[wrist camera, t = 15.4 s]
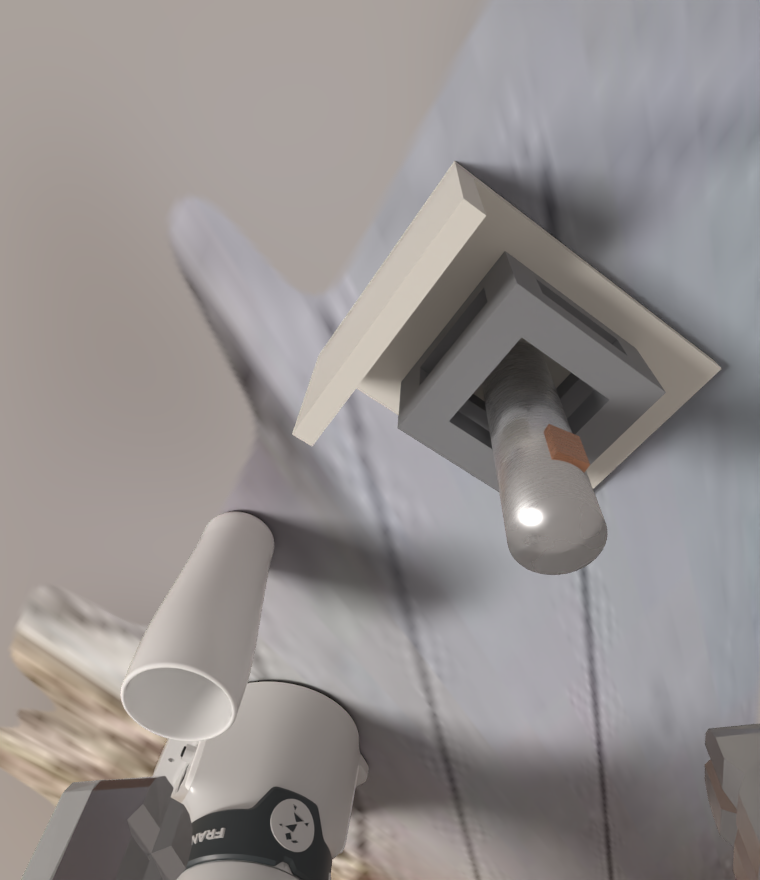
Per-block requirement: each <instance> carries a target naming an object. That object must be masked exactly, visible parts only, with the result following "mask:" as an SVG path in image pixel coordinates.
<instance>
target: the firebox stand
mask: <svg viewBox="0 0 760 880" xmlns="http://www.w3.org/2000/svg"><path fill="white" fill-rule="evenodd" d="M518 341H521V342H526V343H529V344H531V345H533V346H534V347H536V348H537V349H538V350H539V351H540V352H541V353H542V354H543V356H544V358H545V361H546V363H547V366H548V369H549V371H550V374H551V377H552V380H553V382H554V385H555V388H556V390H557V393H558V396H559V398H560V401H561V404H562V407H563V409H564V412H565V415H566V417H567V420H568V423H569V426H570V428H571V431H572V433H573V434H575V435H577V436H579V437H580V439H581V442H582V444H583V447H584V450H585V452H586V455H587V457H588V460H589V463H590V466H589V467H588V468H587V470H586V471H587V474H588V477H589V480H590V482H591V485H592V488H593V489H594V488H595V487H596V486H597V485H598V484H599V483H600V482H601V481H602V480H603V479H604V478H606V477H607V476H608V475H609V474H610V473H611V472H612V471H613V470H614V469H615V468H616V467H617V466H618V465H619V464H620V463H622V462H623V461H624V460H625V459H626V458H627V457H628V456H629V455H630V454H631V453H632V452H633V451H634V450H635V449H637V448H638V447H639V446H640V445H641V444H642V443H643V442H644V441H645V440H646V439H647V438H648V437H649V436H650V435H651V434H653V433H654V432H655V431H656V430H657V429H658V428H659V427H660V426H661V425H662V424H663V423H664V422H665V421H666V420H668V419H669V418H670V417H671V416H672V415H673V414H674V413H675V412H676V411H677V410H678V409H679V408H680V407H681V406H682V405H684V404H685V403H686V402H687V401H688V400H689V399H690V398H691V397H692V396H693V395H694V394H695V393H696V392H697V391H699V390H700V389H701V388H702V387H703V386H704V385H705V384H706V383H707V382H708V381H709V380H710V379H711V378H712V377H713V376H715V375H716V374H717V373H718V372H719V371H720V370H721V367H720V366H719V365H718V364H717V363H716V362H715V361H714V360H713V359H712V358H710V357H709V356H708V355H706V354H705V353H704V352H703V351H701V350H700V349H699V348H697V347H696V346H695V345H693V344H692V343H691V342H690V341H688V340H687V339H686V338H684V337H683V336H682V335H680V334H679V333H678V332H677V331H675V330H674V329H673V328H671V327H670V326H669V325H667V324H666V323H665V322H664V321H662V320H661V319H660V318H658V317H657V316H656V315H654V314H653V313H652V312H651V311H649V310H648V309H647V308H645V307H644V306H643V305H641V304H640V303H639V302H638V301H636V300H635V299H634V298H632V297H631V296H630V295H628V294H627V293H626V292H625V291H623V290H622V289H621V288H619V287H618V286H617V285H615V284H614V283H613V282H612V281H610V280H609V279H608V278H606V277H605V276H604V275H602V274H601V273H600V272H599V271H597V270H596V269H595V268H593V267H592V266H591V265H589V264H588V263H587V262H586V261H584V260H583V259H582V258H580V257H579V256H578V255H576V254H575V253H574V252H573V251H571V250H570V249H569V248H567V247H566V246H565V245H563V244H562V243H561V242H560V241H558V240H557V239H556V238H554V237H553V236H552V235H550V234H549V233H548V232H547V231H545V230H544V229H543V228H541V227H540V226H539V225H537V224H536V223H535V222H534V221H532V220H531V219H530V218H528V217H527V216H526V215H524V214H523V213H522V212H521V211H519V210H518V209H517V208H515V207H514V206H513V205H511V204H510V203H509V202H508V201H506V200H505V199H504V198H502V197H501V196H500V195H498V194H497V193H496V192H495V191H493V190H492V189H491V188H489V187H488V186H487V185H485V184H484V183H483V182H482V181H480V180H479V179H478V178H476V177H475V176H474V175H472V174H471V173H470V172H469V171H467V170H466V169H465V168H463V167H462V166H461V165H459V164H458V163H457V162H456V161H454V162H453V164H452V165H451V167H450V168H449V169H448V171H447V172H446V174H445V175H444V177H443V178H442V179H441V181H440V182H439V184H438V185H437V187H436V188H435V189H434V191H433V192H432V194H431V195H430V197H429V198H428V200H427V201H426V202H425V204H424V205H423V207H422V208H421V210H420V211H419V212H418V214H417V215H416V217H415V218H414V220H413V221H412V222H411V224H410V225H409V227H408V228H407V230H406V231H405V232H404V234H403V235H402V237H401V238H400V240H399V241H398V242H397V244H396V245H395V247H394V248H393V250H392V251H391V252H390V254H389V255H388V257H387V258H386V260H385V261H384V262H383V264H382V265H381V267H380V268H379V270H378V271H377V272H376V274H375V275H374V277H373V278H372V280H371V281H370V282H369V284H368V285H367V287H366V288H365V290H364V291H363V292H362V294H361V295H360V297H359V298H358V300H357V301H356V302H355V304H354V305H353V307H352V308H351V310H350V311H349V312H348V314H347V315H346V317H345V318H344V320H343V321H342V322H341V324H340V325H339V327H338V328H337V330H336V331H335V332H334V334H333V335H332V337H331V338H330V340H329V341H328V342H327V344H326V345H325V347H324V348H323V350H322V351H321V352H320V354H319V356H318V359H317V362H316V365H315V368H314V371H313V374H312V377H311V380H310V383H309V385H308V388H307V391H306V394H305V397H304V400H303V403H302V406H301V409H300V412H299V415H298V418H297V421H296V424H295V427H294V430H293V433H292V435H294V436H296V437H297V438H299V439H301V440H302V441H304V442H306V443H307V444H309V445H311V446H313V445H314V443H315V442H316V441H317V439H318V438H319V437H320V435H321V434H322V433H323V431H324V430H325V429H326V427H327V426H328V425H329V423H330V422H331V421H332V419H333V418H334V417H335V416H336V414H337V413H338V412H339V410H340V409H341V408H342V406H343V405H344V404H345V402H346V401H347V400H348V398H349V397H350V396H351V394H352V393H353V392H354V390H355V389H356V388H357V389H358V390H360V391H361V392H363V393H364V394H366V395H368V396H369V397H371V398H372V399H374V400H375V401H377V402H379V403H380V404H382V405H383V406H385V407H386V408H388V409H390V410H391V411H393V412H394V413H396V414H397V415H399V416H398V429H400V430H401V431H403V432H404V433H406V434H408V435H409V436H411V437H412V438H414V439H416V440H417V441H419V442H420V443H422V444H423V445H425V446H427V447H428V448H430V449H431V450H433V451H435V452H436V453H438V454H439V455H441V456H443V457H444V458H446V459H447V460H449V461H450V462H452V463H454V464H455V465H457V466H458V467H460V468H462V469H463V470H465V471H466V472H468V473H470V474H471V475H473V476H474V477H476V478H477V479H479V480H481V481H482V482H484V483H485V484H487V485H489V486H490V487H492V488H493V489H495V490H496V491H498V492H499V487H498V481H497V474H496V468H495V462H494V456H493V450H492V443H491V437H490V431H489V425H488V419H487V413H486V406H485V400H484V394H483V388H482V383H483V381H484V380H485V379H486V378H487V377H488V376H489V375H490V373H491V372H492V371H493V370H494V369H495V368H496V366H497V365H498V364H499V363H500V362H501V361H502V359H503V358H504V357H505V356H506V355H507V354H508V353H509V351H510V350H511V349H512V348H513V347H514V346H515V344H516V343H517V342H518Z"/></svg>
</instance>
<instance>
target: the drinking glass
mask: <svg viewBox="0 0 760 880" xmlns="http://www.w3.org/2000/svg"><path fill="white" fill-rule="evenodd" d="M273 552H274V538H273V535H272V533H271V531H270V529H269V528H268V526H267V525H266V524H265V523H264V522H263V521H261V520H260V519H259V518H257V517H255V516H253V515H251V514H248V513H244V512H226V513H223V514H220V515H218V516H216V517H214V518H213V519H212V520H211V521H210V522H209V523H208V524H207V526H206V527H205V529H204V531H203V533H202V536H201V538H200V540H199V542H198V544H197V546H196V547H195V549H194V551H193V552H192V554H191V556H190V557H189V559H188V561H187V562H186V564H185V566H184V568H183V569H182V571H181V572H180V574H179V576H178V578H177V579H176V581H175V582H174V584H173V586H172V587H171V589H170V591H169V592H168V594H167V596H166V597H165V599H164V600H163V602H162V604H161V605H160V607H159V609H158V610H157V612H156V614H155V616H154V617H153V619H152V621H151V622H150V624H149V626H148V628H147V629H146V631H145V633H144V635H143V637H142V639H141V641H140V643H139V645H138V648H137V650H136V652H135V654H134V657H133V659H132V661H131V664H130V666H129V668H128V671H127V673H126V676H125V679H124V681H123V683H122V686H121V692H120V694H121V701H122V704H123V706H124V708H125V710H126V712H127V713H128V714H129V716H130V717H131V718H132V719H133V720H134V721H135V722H136V723H138V724H139V725H140V726H142V727H143V728H145V729H146V730H148V731H150V732H152V733H154V734H156V735H159V736H162V737H165V738H168V739H173V740H178V741H190V742H193V741H203V740H208V739H212V738H215V737H217V736H219V735H221V734H223V733H224V732H226V731H227V730H228V729H229V728H230V727H231V726H232V725H233V723H234V721H235V719H236V717H237V713H238V710H239V708H240V705H241V702H242V699H243V696H244V693H245V689H246V686H247V683H248V679H249V675H250V671H251V667H252V663H253V659H254V654H255V648H256V643H257V637H258V631H259V625H260V619H261V612H262V607H263V601H264V595H265V589H266V583H267V578H268V572H269V567H270V563H271V559H272V556H273Z"/></svg>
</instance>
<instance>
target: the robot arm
mask: <svg viewBox="0 0 760 880" xmlns="http://www.w3.org/2000/svg"><path fill="white" fill-rule="evenodd" d="M705 746H706V748H707V751H708V754H709V756H710V760H709V761H708V762H707V763H706V764H705V784H706V790H707V795H708V801H709V804H710V807H711V811H712V814H713V817H714V820H715V823H716V826H717V829H718V831H719V834H720V836H721V837H722V838H723V839H724V840H725V841H726V842H728V843H729V844H730V845H731V846H732V847H733V848H734V858H733V872H734V875H735V878H736V880H760V724H751V725H741V726H731V727H721V728H711V729H708V730H707V732H706V736H705ZM368 772H369V767H368V765H367V763H366V761H365V759H364V758H363V756H362V755H361V754H360V751H359V734H358V730H357V727H356V725H355V723H354V721H353V719H352V718H351V717H350V715H349V714H348V713H347V712H346V711H345V710H344V709H343V708H342V707H341V706H340V705H339V704H337V703H336V702H335V701H333V700H332V699H330V698H328V697H327V696H325V695H323V694H321V693H319V692H316V691H314V690H311V689H309V688H306V687H302V686H299V685H294V684H289V683H283V682H253V683H247V686H246V689H245V693H244V696H243V699H242V702H241V705H240V708H239V710H238V713H237V717H236V719H235V721H234V723H233V725H232V726H231V727H230V728H229V729H228V730H227V731H226V732H224V733H223V734H221V735H219V736H217V737H215V738H212V739H208V740H203V741H193V742H190V741H178V740H173V739H167V742H166V744H165V746H164V749H163V751H162V753H161V756H160V758H159V760H158V763H157V765H156V767H155V770H154V774H153V777H142V778H128V779H115V780H96V781H85V782H74V783H72V784H71V785H70V786H69V787H68V788H67V789H66V790H65V791H64V792H63V794H62V796H61V798H60V800H59V802H58V804H57V806H56V808H55V810H54V812H53V814H52V817H51V819H50V820H49V822H48V825H47V827H46V829H45V831H44V833H43V835H42V837H41V839H40V841H39V843H38V845H37V847H36V850H35V852H34V853H33V856H32V858H31V860H30V862H29V864H28V866H27V868H26V870H25V872H24V874H23V877H22V878H21V880H331V867H332V859H333V858H335V857H336V856H337V855H338V854H339V853H342V851H343V849H344V847H345V844H346V839H347V833H348V828H349V822H350V817H351V811H352V805H353V799H354V794H355V788H356V787H358V786H359V785H361V784H363V783H364V782H366V780H367V777H368Z"/></svg>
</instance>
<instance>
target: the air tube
mask: <svg viewBox="0 0 760 880" xmlns="http://www.w3.org/2000/svg"><path fill="white" fill-rule="evenodd" d="M482 388H483V394H484V400H485V406H486V413H487V419H488V425H489V431H490V437H491V443H492V450H493V456H494V462H495V468H496V474H497V481H498V487H499V493H500V499H501V505H502V512H503V518H504V524H505V530H506V536H507V543H508V547H509V550H510V553H511V555H512V556H513V557H514V559H515V560H516V561H517V562H518V563H519V564H520V565H522V566H523V567H525V568H526V569H528V570H531V571H533V572H536V573H540V574H547V575H560V574H566V573H570V572H574V571H577V570H579V569H581V568H583V567H585V566H587V565H588V564H590V563H591V562H592V561H593V560H595V559H596V558H597V557H598V555H599V554H600V553H601V551H602V550H603V548H604V546H605V543H606V540H607V526H606V523H605V520H604V517H603V515H602V512H601V509H600V507H599V504H598V501H597V498H596V496H595V493H594V490H593V488H592V485H591V482H590V480H589V477H588V474H587V471H586V470H587V468H588V467H589V466H590V463H589V460H588V457H587V455H586V452H585V450H584V447H583V444H582V442H581V439H580V437H579V436H577V435H575V434H573V433H572V431H571V428H570V426H569V423H568V420H567V417H566V415H565V412H564V409H563V407H562V404H561V401H560V398H559V396H558V393H557V390H556V388H555V385H554V382H553V380H552V377H551V374H550V371H549V369H548V366H547V363H546V361H545V358H544V356H543V354H542V353H541V352H540V351H539V350H538V349H537V348H536V347H534V346H533V345H531V344H529V343H526V342H521V341H518V342H517V343H516V344H515V346H514V347H513V348H512V349H511V350H510V351H509V353H508V354H507V355H506V356H505V357H504V358H503V359H502V361H501V362H500V363H499V364H498V365H497V366H496V368H495V369H494V370H493V371H492V372H491V373H490V375H489V376H488V377H487V378H486V379H485V380H484V381H483V383H482Z"/></svg>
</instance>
